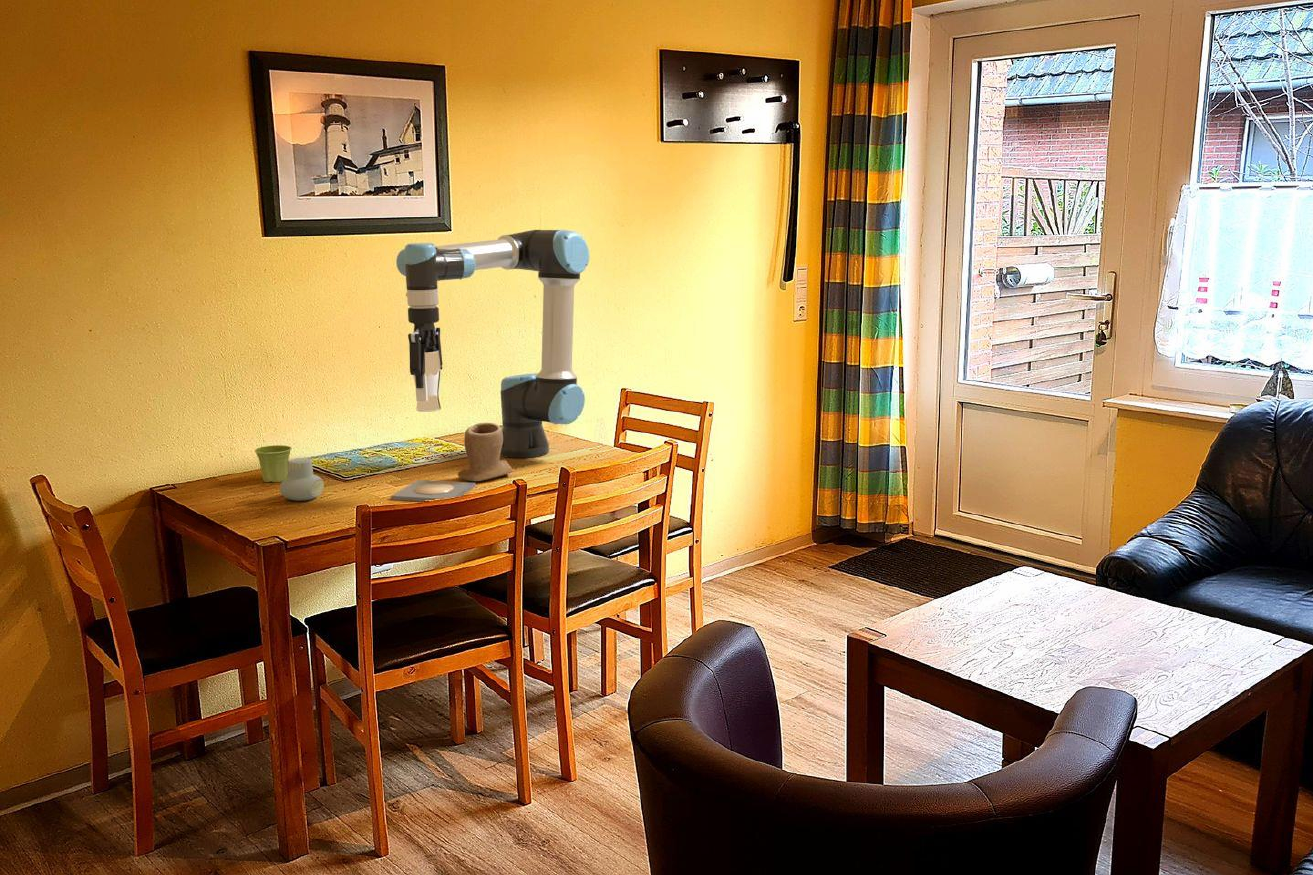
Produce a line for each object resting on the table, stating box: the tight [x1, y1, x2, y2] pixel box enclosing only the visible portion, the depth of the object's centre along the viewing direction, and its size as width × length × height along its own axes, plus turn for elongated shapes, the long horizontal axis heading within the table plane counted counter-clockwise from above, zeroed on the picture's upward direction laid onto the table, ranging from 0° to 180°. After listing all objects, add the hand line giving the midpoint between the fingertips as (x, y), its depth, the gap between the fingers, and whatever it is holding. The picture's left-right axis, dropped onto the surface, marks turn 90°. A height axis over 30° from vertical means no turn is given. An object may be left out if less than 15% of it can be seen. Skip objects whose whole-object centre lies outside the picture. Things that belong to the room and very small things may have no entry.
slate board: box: [390, 479, 476, 502], centre depth 289 cm, size 16×16×1 cm
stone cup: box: [457, 422, 514, 482], centre depth 302 cm, size 15×12×15 cm
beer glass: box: [412, 349, 442, 413], centre depth 283 cm, size 7×7×15 cm
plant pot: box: [254, 444, 293, 483], centre depth 303 cm, size 9×9×9 cm
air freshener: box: [279, 457, 325, 502], centre depth 285 cm, size 11×8×10 cm
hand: (428, 397), depth 284 cm, fingers closed on beer glass, 6 cm apart
